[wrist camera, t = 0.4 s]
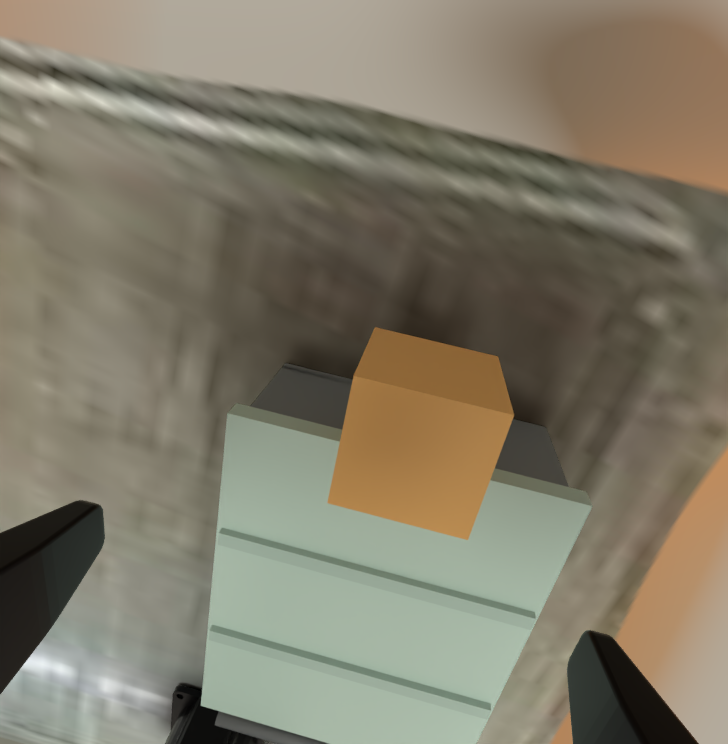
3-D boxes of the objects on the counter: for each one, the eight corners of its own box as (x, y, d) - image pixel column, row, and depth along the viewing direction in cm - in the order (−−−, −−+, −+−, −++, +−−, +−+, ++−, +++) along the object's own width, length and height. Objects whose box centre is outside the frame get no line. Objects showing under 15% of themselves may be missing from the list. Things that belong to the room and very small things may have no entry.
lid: (457, 762, 23) (459, 872, 20) (207, 689, 24) (165, 782, 21) (634, 389, 15) (695, 459, 11) (247, 296, 16) (187, 335, 12)
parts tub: (443, 679, 29) (443, 797, 23) (248, 624, 29) (204, 726, 24) (545, 426, 22) (579, 513, 16) (285, 363, 22) (234, 425, 17)
